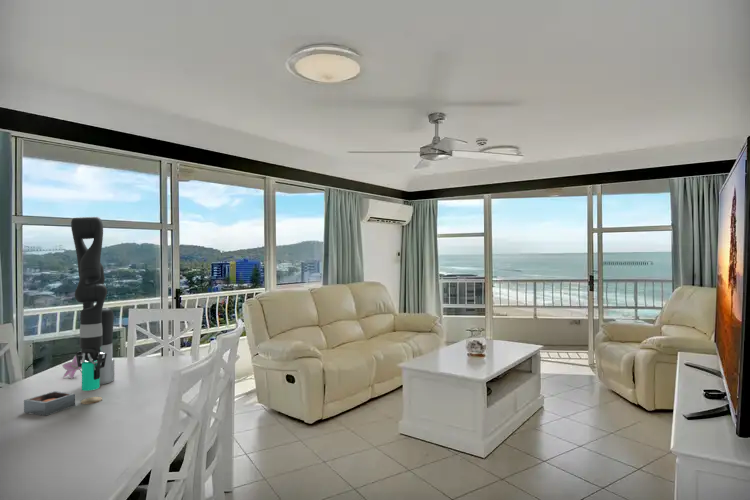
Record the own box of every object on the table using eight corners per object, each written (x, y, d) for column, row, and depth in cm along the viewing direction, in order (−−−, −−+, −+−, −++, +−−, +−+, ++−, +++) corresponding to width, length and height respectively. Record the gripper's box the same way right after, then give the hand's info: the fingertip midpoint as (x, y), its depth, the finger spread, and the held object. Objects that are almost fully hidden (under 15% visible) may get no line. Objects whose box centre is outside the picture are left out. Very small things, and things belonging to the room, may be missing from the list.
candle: (90, 391, 166) (90, 359, 166) (77, 390, 167) (77, 359, 167) (103, 386, 172) (103, 356, 172) (90, 385, 173) (90, 355, 173)
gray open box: (54, 402, 168) (54, 391, 168) (75, 405, 165) (75, 393, 165) (23, 412, 158) (23, 400, 158) (45, 415, 155) (45, 403, 155)
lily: (62, 376, 209) (54, 361, 204) (89, 363, 216) (81, 348, 211) (69, 389, 201) (60, 373, 197) (96, 374, 209) (89, 359, 204)
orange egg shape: (52, 404, 165) (52, 397, 165) (61, 405, 163) (61, 399, 163) (38, 408, 160) (38, 402, 160) (47, 410, 158) (47, 403, 158)
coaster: (93, 397, 174) (93, 396, 174) (106, 399, 172) (106, 397, 172) (76, 403, 167) (76, 401, 167) (89, 405, 165) (89, 403, 165)
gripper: (113, 334, 171) (113, 377, 171) (86, 332, 176) (86, 374, 176) (95, 337, 164) (95, 382, 164) (68, 335, 169) (68, 379, 168)
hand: (91, 378), depth 170 cm, fingers closed on candle, 5 cm apart
